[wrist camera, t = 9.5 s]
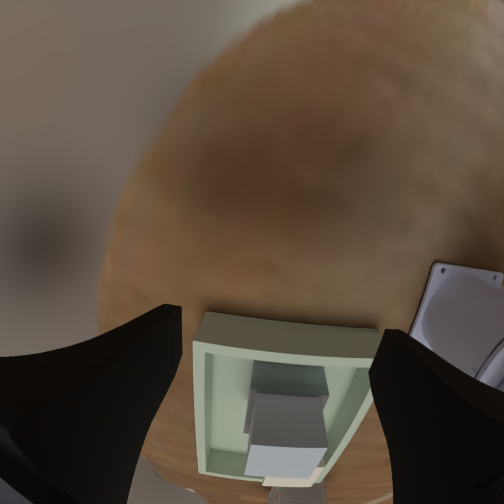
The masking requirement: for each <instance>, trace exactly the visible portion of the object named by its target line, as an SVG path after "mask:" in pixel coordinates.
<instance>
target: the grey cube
mask: <svg viewBox="0 0 504 504" xmlns="http://www.w3.org/2000/svg"><path fill="white" fill-rule="evenodd" d="M327 449H328V444H327V436H326V429H325V422H324V415H323V408H322V401H321V397H303V396H288V395H276V394H265V393H256V397H255V402H254V408H253V414H252V419H251V425H250V431H249V440H248V448H247V456H246V464H245V472H244V475H249V476H260V477H274V478H310V476H311V475H312V473H313V472H314V470H315V468H316V467H317V465H318V464H319V462H320V460H321V459H322V457H323V455H324V454H325V452H326V450H327Z"/></svg>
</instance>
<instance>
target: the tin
mask: <svg viewBox="0 0 504 504" xmlns="http://www.w3.org/2000/svg"><path fill="white" fill-rule="evenodd" d="M256 393H265V394H276V395H288V396H303V397H321V401H322V408H323V410H324V407H325V405H326V403H327V400H328V398H329V391H328V385H327V380H326V375H325V370H324V366H314V365H300V364H289V363H278V362H269V361H260V360H254V362H253V368H252V375H251V382H250V388H249V395H248V402H247V409H246V417H245V424H244V431H243V433H244V434H249V431H250V425H251V419H252V414H253V408H254V402H255V397H256Z"/></svg>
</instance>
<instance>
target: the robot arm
mask: <svg viewBox="0 0 504 504" xmlns="http://www.w3.org/2000/svg"><path fill="white" fill-rule="evenodd" d="M442 268H443V271H442V272H441V269H442ZM503 278H504V275H503V274H502V273H501V272H495V271H489V270H483V269H477V268H470V267H464V266H458V265H451V264H445V263H435V264H434V265H433V267H432V270H431V273H430V277H429V280H428V283H427V287H426V290H425V293H424V296H423V299H422V302H421V305H420V308H419V311H418V313H417V316H416V319H415V321H414V324H413V327H412V329H411V332H410V334H409V335H408V334H407V333H405V332H403V331H401V330H399V329H385V331H384V334H383V336H382V339H381V342H380V344H379V347H378V349H377V352H376V354H375V357H374V359H373V362H372V364H371V367H370V369H369V371H368V375H369V381H370V387H371V392H372V396H373V400H374V403H375V406H376V409H377V412H378V415H379V418H380V422H381V425H382V428H383V431H384V434H385V438H386V441H387V445H388V449H389V455H390V462H391V469H392V481H393V504H504V286H502V282H503ZM432 350H433V351H434V352H433V351H432ZM182 353H183V352H182V306H176V305H170V304H163V305H160V306H158V307H156V308H154V309H152V310H151V311H149V312H147V313H145V314H143V315H141V316H139V317H137V318H135V319H133V320H131V321H130V322H128V323H126V324H124V325H122V326H119V327H117V328H115V329H113V330H111V331H108V332H106V333H104V334H102V335H100V336H97V337H95V338H92V339H90V340H87V341H84V342H81V343H78V344H75V345H72V346H68V347H65V348H60V349H56V350H52V351H47V352H43V353H37V354H30V355H22V356H10V357H0V504H127V499H128V495H129V491H130V487H131V483H132V479H133V475H134V472H135V468H136V465H137V462H138V458H139V455H140V452H141V449H142V446H143V443H144V440H145V437H146V435H147V432H148V429H149V427H150V425H151V423H152V420H153V419H154V417H155V415H156V413H157V411H158V409H159V407H160V405H161V403H162V401H163V399H164V397H165V395H166V393H167V391H168V389H169V387H170V385H171V383H172V381H173V379H174V377H175V374H176V371H177V368H178V366H179V363H180V359H181V356H182Z"/></svg>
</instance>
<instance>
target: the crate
mask: <svg viewBox="0 0 504 504" xmlns="http://www.w3.org/2000/svg"><path fill="white" fill-rule="evenodd" d="M381 339H382V336H381V335H380V333H379V331H378V329H368V328H352V327H338V326H325V325H314V324H303V323H293V322H284V321H275V320H267V319H259V318H251V317H243V316H236V315H229V314H222V313H216V312H209V311H206V313H205V315H204V317H203V320H202V322H201V324H200V326H199V328H198V331H197V333H196V335H195V337H194V339H193V380H194V408H195V428H196V443H197V457H198V469H199V473H202V474H207V475H213V476H219V477H225V478H232V479H240V480H249V481H260V482H263V477H260V476H249V475H244V472H245V464H246V456H247V448H248V440H249V434H244V433H243V431H244V424H245V417H246V409H247V402H248V395H249V388H250V382H251V375H252V368H253V362H254V360H260V361H269V362H278V363H289V364H300V365H314V366H324V370H325V375H326V380H327V385H328V391H329V398H328V400H327V403H326V405H325V407H324V410H323V415H324V422H325V429H326V436H327V444H328V449H327V450H326V452H325V454H324V464H325V468H324V469H323V471H322V472H321V473H320V475H319V476H318V478H317V479H316V480H315V482H314V483H320V482H321V481H322V480H323V479H324V477H325V476H326V475H327V473H328V472H329V470H330V469H331V468H332V466H333V465H334V463H335V462H336V461H337V459H338V458H339V456H340V455H341V453H342V452H343V450H344V449H345V447H346V446H347V444H348V443H349V441H350V439H351V438H352V436H353V435H354V433H355V431H356V430H357V428H358V426H359V425H360V423H361V421H362V420H363V418H364V416H365V414H366V413H367V411H368V409H369V407H370V405H371V403H372V402H373V396H372V392H371V387H370V381H369V375H368V371H369V369H370V367H371V364H372V362H373V359H374V357H375V354H376V352H377V349H378V347H379V344H380V342H381Z"/></svg>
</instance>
